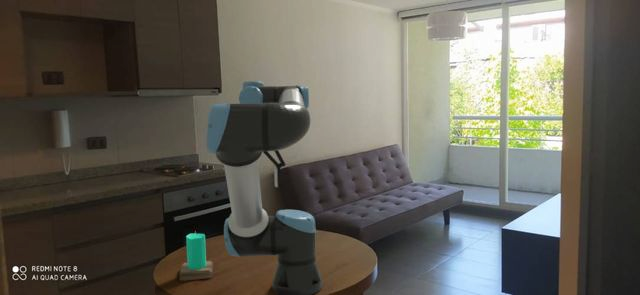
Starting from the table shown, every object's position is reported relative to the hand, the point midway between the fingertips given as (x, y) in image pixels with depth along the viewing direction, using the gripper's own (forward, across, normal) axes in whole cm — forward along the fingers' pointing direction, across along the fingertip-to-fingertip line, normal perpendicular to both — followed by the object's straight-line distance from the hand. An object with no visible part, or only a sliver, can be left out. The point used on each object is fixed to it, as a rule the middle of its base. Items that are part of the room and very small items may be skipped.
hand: (256, 187), depth 160 cm
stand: (+27, +21, +6) cm, 35 cm away
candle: (+24, +21, +6) cm, 33 cm away
